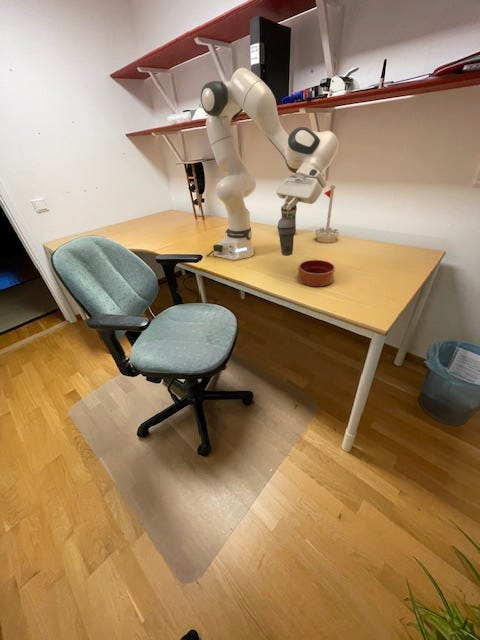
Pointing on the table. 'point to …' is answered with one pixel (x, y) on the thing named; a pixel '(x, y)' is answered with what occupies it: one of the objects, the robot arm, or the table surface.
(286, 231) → the beverage cup
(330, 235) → the flag stand
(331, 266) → the bowl
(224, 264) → the table surface
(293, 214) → the coffee jar
